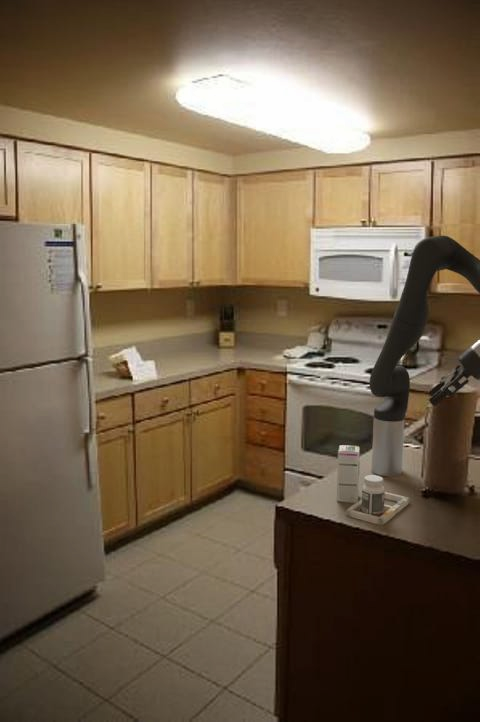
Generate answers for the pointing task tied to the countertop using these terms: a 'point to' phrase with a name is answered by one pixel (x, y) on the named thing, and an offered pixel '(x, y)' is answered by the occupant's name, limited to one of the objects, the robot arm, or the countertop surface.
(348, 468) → the syrup box
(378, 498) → the pill bottle
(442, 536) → the countertop surface
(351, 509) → the plate
